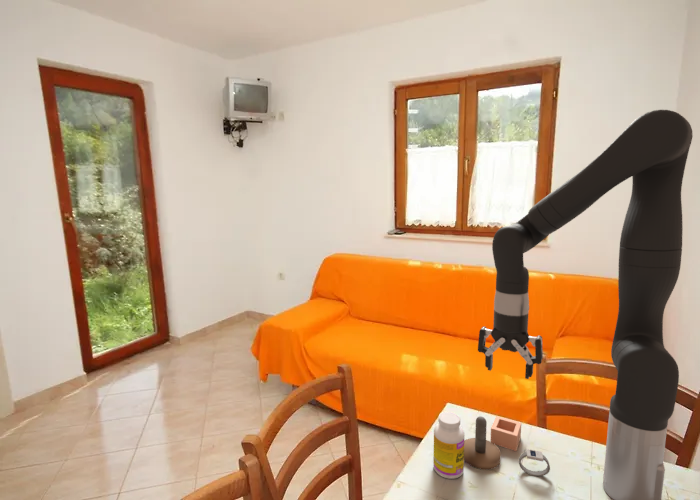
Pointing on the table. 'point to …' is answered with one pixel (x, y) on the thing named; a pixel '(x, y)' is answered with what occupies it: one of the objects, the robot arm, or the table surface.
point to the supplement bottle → (448, 446)
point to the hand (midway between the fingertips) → (508, 373)
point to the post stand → (481, 449)
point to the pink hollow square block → (506, 433)
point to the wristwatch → (535, 456)
